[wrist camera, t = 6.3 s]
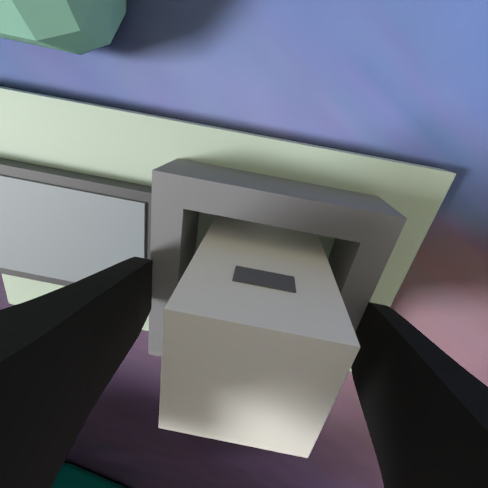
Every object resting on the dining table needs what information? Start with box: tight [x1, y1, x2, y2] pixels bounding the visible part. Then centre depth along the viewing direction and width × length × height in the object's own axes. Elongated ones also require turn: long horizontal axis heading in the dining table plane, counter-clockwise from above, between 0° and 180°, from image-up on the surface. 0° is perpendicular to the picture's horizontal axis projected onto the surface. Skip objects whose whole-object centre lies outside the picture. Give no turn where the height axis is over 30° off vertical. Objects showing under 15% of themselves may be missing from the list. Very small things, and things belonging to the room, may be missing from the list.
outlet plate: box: [0, 86, 456, 371], centre depth 11 cm, size 10×18×3 cm, turn 81°
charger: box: [158, 215, 360, 458], centre depth 9 cm, size 4×4×6 cm
